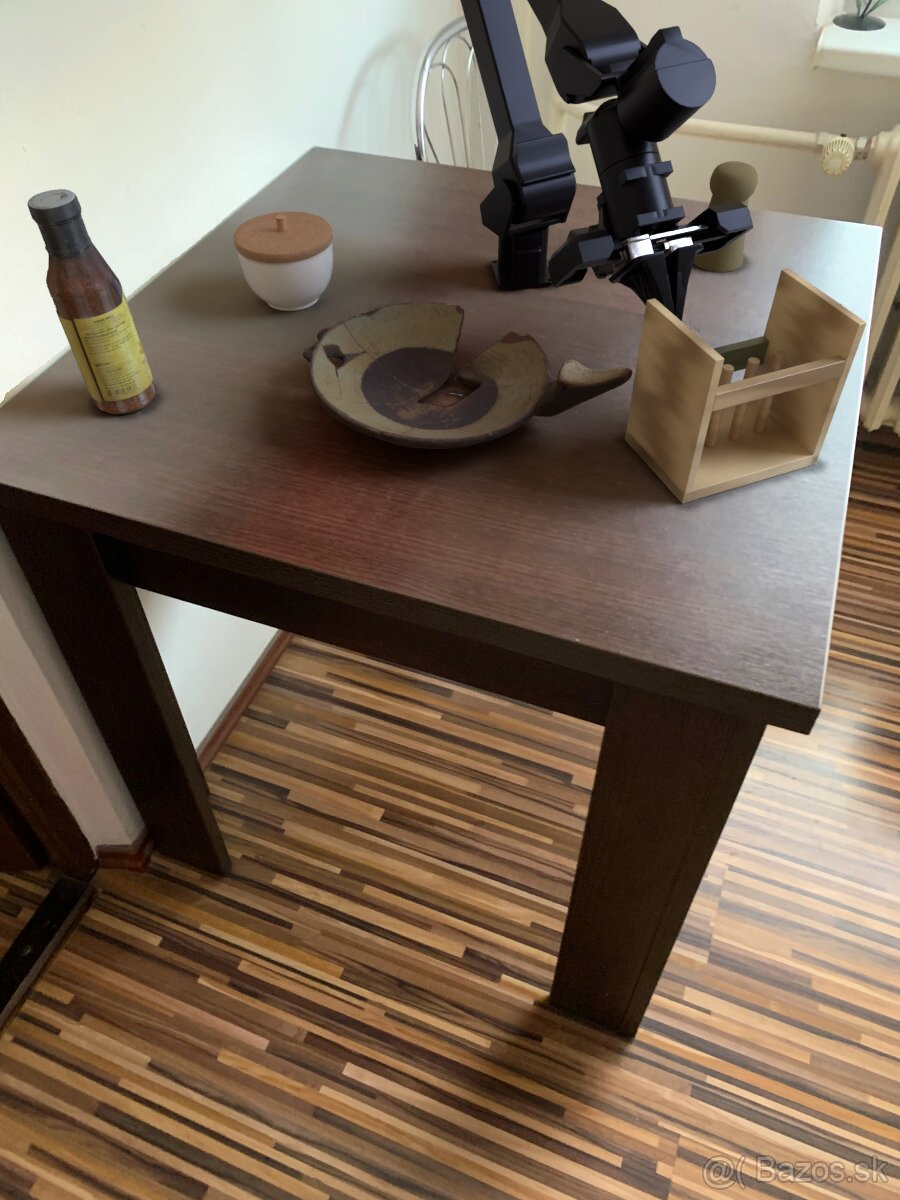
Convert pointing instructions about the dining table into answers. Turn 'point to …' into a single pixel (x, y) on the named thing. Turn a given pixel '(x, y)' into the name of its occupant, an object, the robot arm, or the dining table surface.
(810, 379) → the rack
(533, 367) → the broken clay pan
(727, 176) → the olive pawn
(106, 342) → the sauce bottle
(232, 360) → the dining table surface
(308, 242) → the trinket box
